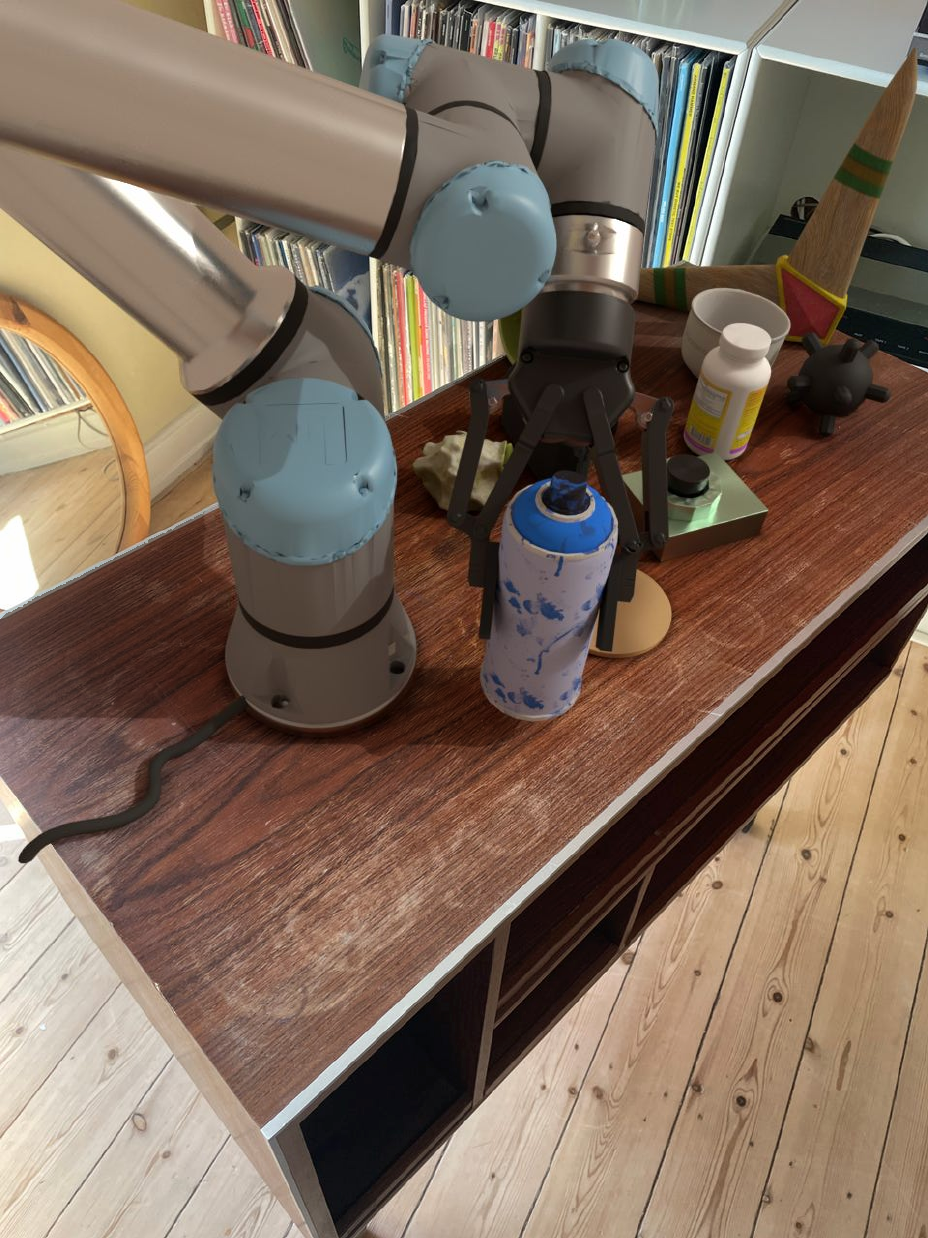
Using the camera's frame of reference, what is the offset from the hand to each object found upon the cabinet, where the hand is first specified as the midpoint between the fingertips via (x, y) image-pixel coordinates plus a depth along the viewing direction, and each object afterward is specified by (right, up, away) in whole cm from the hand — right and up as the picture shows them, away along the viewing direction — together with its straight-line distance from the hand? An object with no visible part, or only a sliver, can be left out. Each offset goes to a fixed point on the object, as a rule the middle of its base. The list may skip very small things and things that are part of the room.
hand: (543, 643), depth 63 cm
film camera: (+5, +19, +33) cm, 39 cm away
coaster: (+7, +2, +19) cm, 20 cm away
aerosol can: (0, -3, +9) cm, 9 cm away
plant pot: (+11, +37, +44) cm, 58 cm away
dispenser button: (+15, +14, +23) cm, 31 cm away
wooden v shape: (+27, +47, +24) cm, 59 cm away
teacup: (+24, +29, +43) cm, 57 cm away
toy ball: (+35, +30, +41) cm, 62 cm away
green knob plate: (+16, +12, +27) cm, 34 cm away
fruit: (-5, +14, +28) cm, 32 cm away
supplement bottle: (+21, +20, +35) cm, 46 cm away
